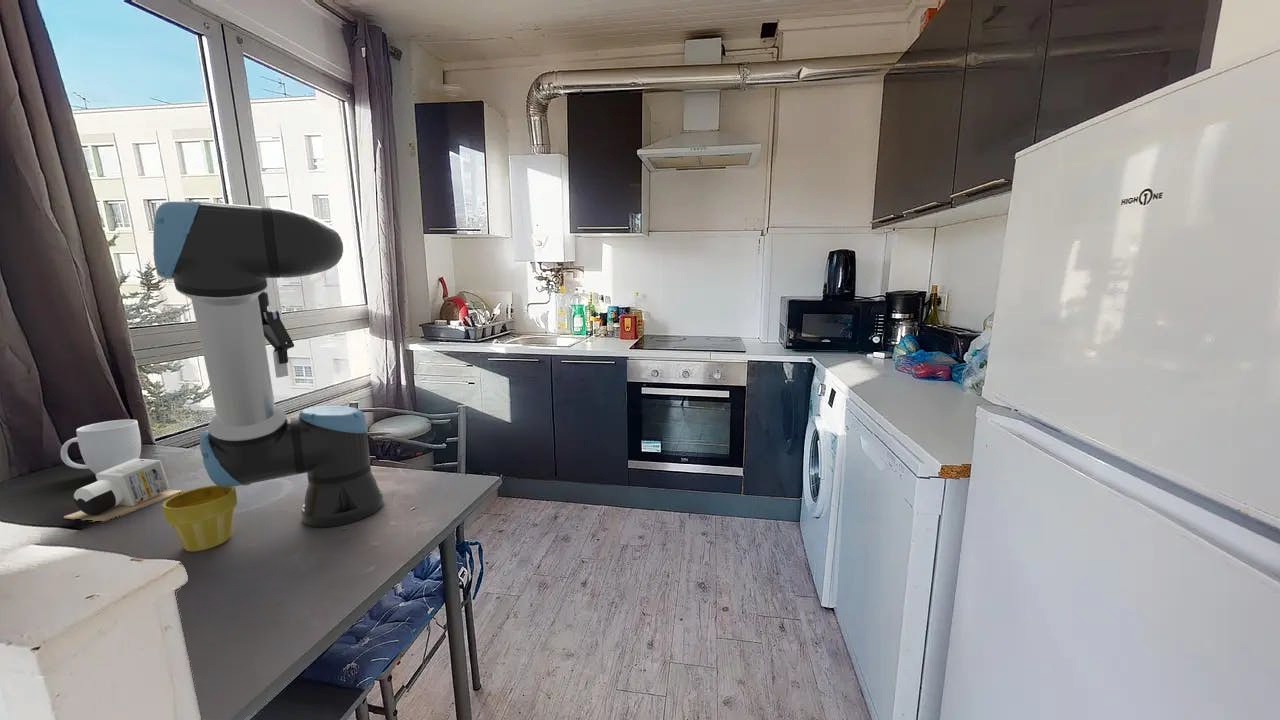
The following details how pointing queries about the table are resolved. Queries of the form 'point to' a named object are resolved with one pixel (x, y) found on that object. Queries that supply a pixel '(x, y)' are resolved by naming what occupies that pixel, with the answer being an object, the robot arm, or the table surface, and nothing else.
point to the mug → (105, 445)
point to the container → (122, 486)
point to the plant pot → (201, 516)
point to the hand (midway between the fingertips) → (259, 375)
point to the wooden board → (122, 508)
